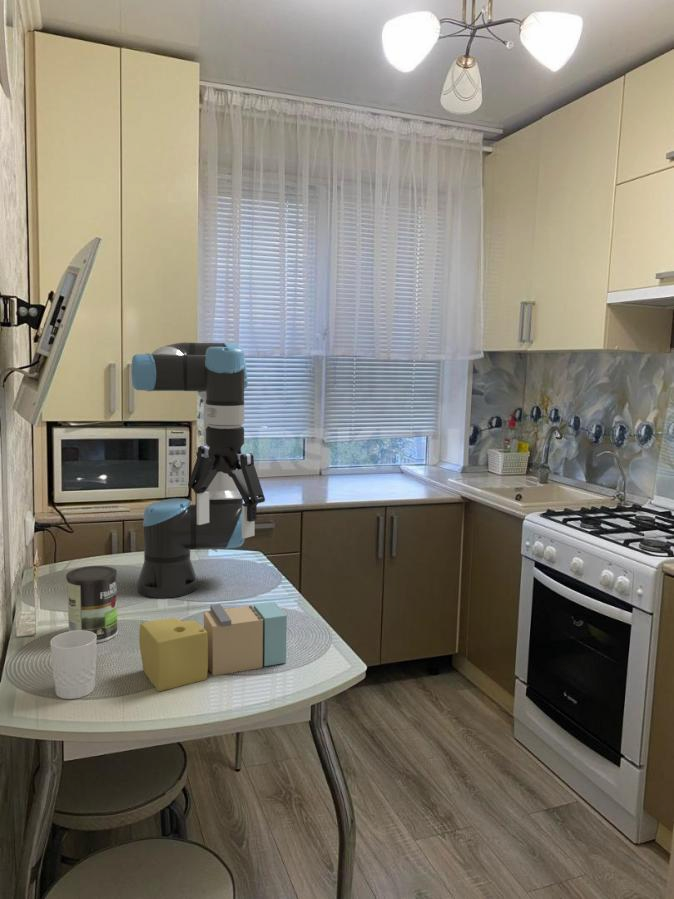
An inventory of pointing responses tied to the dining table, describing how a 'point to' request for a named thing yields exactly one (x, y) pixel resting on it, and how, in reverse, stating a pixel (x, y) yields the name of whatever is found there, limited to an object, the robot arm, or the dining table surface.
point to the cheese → (173, 652)
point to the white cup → (74, 663)
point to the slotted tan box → (233, 639)
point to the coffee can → (93, 601)
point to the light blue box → (273, 633)
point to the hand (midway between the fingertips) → (224, 530)
